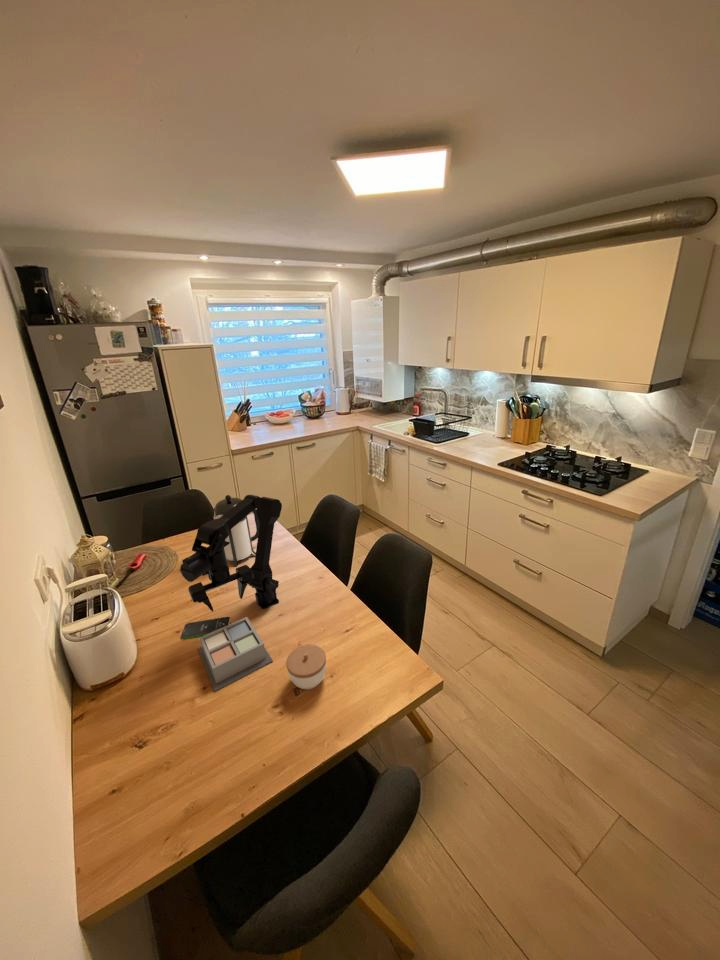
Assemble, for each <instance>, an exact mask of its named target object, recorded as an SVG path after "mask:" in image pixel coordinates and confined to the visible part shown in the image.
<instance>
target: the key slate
mask: <svg viewBox="0 0 720 960" xmlns="http://www.w3.org/2000/svg"><path fill="white" fill-rule="evenodd" d="M249 631H250V629H249V628H248V626H247V624H246V623H245V622H244V623H242V624H240V625H237V626H235V627H233V628H231V629H228V632H229V634H230V636H231V638H232V639H234V638H236V637H238V636H240V635H242V634H245V633H247V632H249Z"/></svg>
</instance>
